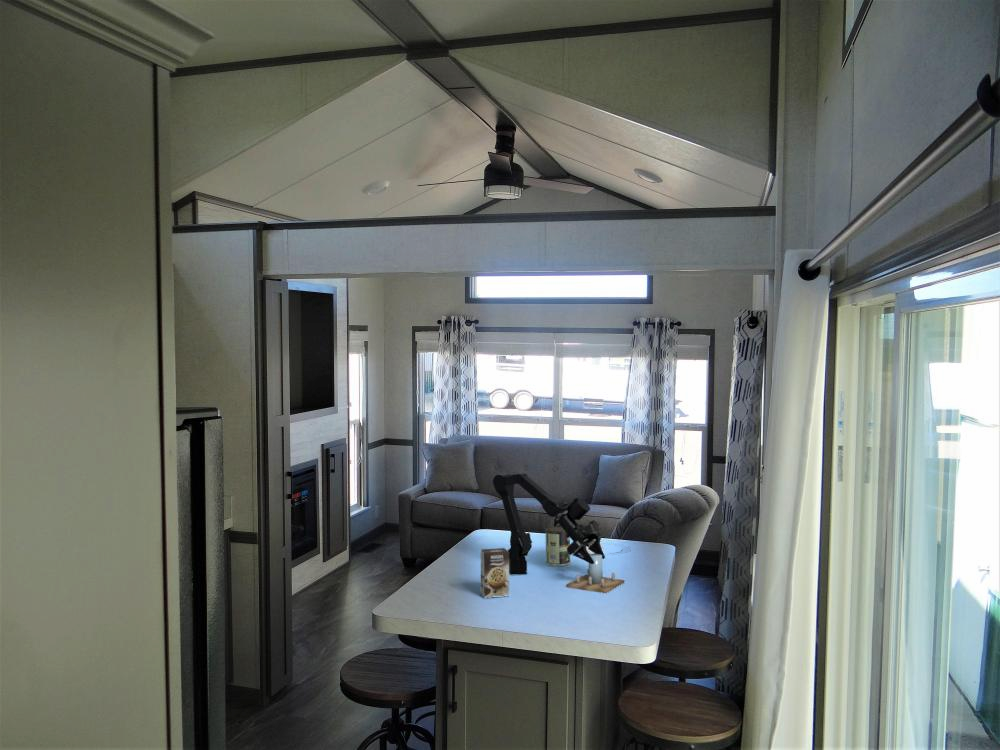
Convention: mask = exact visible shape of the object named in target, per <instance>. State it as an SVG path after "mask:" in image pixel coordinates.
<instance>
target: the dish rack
mask: <svg viewBox="0 0 1000 750" xmlns="http://www.w3.org/2000/svg"><path fill="white" fill-rule="evenodd" d="M586 573H587V574H584V575H582V576H580V574H576V576H575V579H574V580H572V581H570V582H568V583H567V584H566V588H570V587H571V589H577V590H582V591H590V592H597V593H601V592H602V593H601V594H608V593H610V592H611V591H613V590H615V589H616V587H617V586H618V587H620V586H622V585H623V584H625V583H624V582H626V581H625V580H624V579H618V578H616V572H611V577H606V576H603V574H604V573H603V570H602V578H601V584H592V577H589V568H587V572H586ZM622 583H623V584H622ZM621 584H622V585H621ZM619 585H620V586H619ZM618 587H617V588H618ZM614 588H615V589H614ZM612 589H613V590H612ZM609 591H610V592H609ZM607 592H608V593H607Z"/></svg>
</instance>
